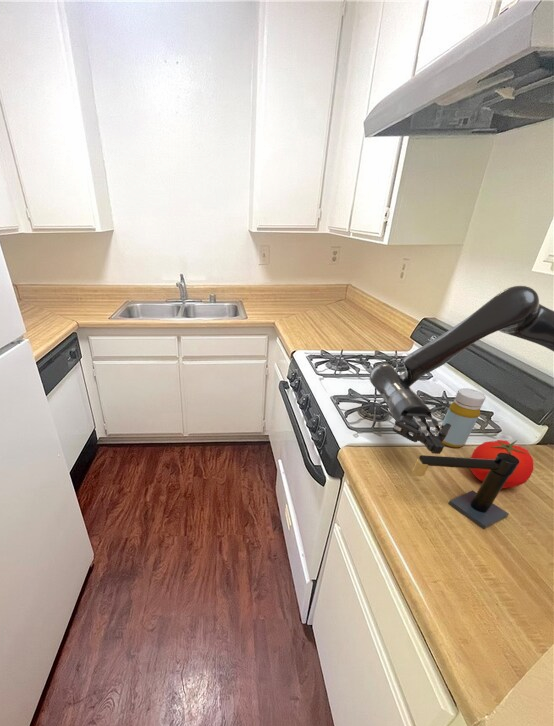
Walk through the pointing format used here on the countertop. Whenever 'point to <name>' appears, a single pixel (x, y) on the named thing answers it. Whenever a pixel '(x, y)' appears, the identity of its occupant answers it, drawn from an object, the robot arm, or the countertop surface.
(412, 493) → the countertop surface
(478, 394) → the bottle
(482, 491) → the faucet base
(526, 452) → the tomato
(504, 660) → the countertop surface
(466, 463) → the spout
